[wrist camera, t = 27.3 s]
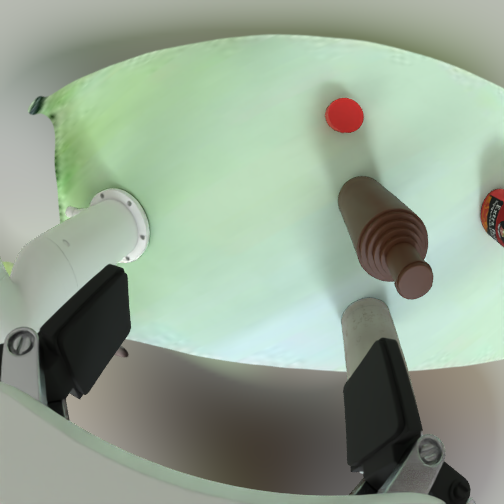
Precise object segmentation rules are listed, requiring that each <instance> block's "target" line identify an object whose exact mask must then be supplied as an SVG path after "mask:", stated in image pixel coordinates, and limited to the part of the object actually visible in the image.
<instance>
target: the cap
mask: <svg viewBox="0 0 504 504" xmlns="http://www.w3.org/2000/svg"><path fill="white" fill-rule="evenodd" d="M325 118H326V121H327V123H328V125H329V126H330V127H331V128H332V129H334V130H335V131H338V132H341V133H344V132H346V133H351V132H354V131H356V130H357V129H359V128H360V126H361V125H362V123H363V118H364V116H363V111H362V109H361V107H360V106H359V104H358V103H357V102H355V101H354V100H352V99H349V98H339V99H337V100H335V101H333V102H332V103H331V104H330V105H329V106H328V107H327V110H326V113H325Z"/></svg>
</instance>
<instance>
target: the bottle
mask: <svg viewBox="0 0 504 504" xmlns="http://www.w3.org/2000/svg"><path fill="white" fill-rule="evenodd" d="M338 206H339V209H340V212H341V214H342V217H343V219H344V222H345V224H346V227H347V229H348V232H349V235H350V237H351V240H352V243H353V245H354V248H355V251H356V254H357V256H358V259H359V262H360V264H361V266H362V267H363V269H364V270H365V271H366V272H367V273H368V274H369V275H371V276H372V277H374V278H376V279H379V280H382V281H387V282H393V281H394V282H395V283H394V284H395V287H396V289H397V291H398V293H399V294H400V295H401V296H402V297H404V298H406V299H417V298H419V297H421V296H423V295H424V294H426V293H427V292H428V291H429V290H430V288H431V287H432V283H433V273H432V269H431V267H430V265H429V264H428V263H427V262H425V261H424V259H425V256H426V253H427V249H428V235H427V230H426V227H425V225H424V223H423V222H422V220H421V219H420V218H419V217H418V216H417V215H416V214H415V213H414V212H413V211H412V210H410V209H409V208H408V207H407V206H406V205H405V204H404V203H402V202H401V201H400V200H399V199H398V198H397V197H395V196H394V195H393V194H392V193H391V192H389V191H388V190H387V189H386V188H385V187H383V186H382V185H381V184H380V183H378V182H377V181H376V180H374V179H372V178H370V177H366V176H358V177H355V178H352V179H350V180H349V181H347V182H346V183H345V184H344V185H343V187H342V188H341V190H340V192H339V196H338Z"/></svg>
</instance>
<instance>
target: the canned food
mask: <svg viewBox="0 0 504 504" xmlns="http://www.w3.org/2000/svg"><path fill="white" fill-rule="evenodd" d="M481 222H482V225H483V227H484V229H485V231H486V232H487V233H488V234H489V235H490V236H491V237H492V238H493V239H495V240H496V241H497V242H498V243H499V244H501V245H502V246H503V247H504V189H495V190H493V191H491V192H490V193H489V194H488V195H487V196H486V198H485V200H484V202H483V204H482V208H481Z"/></svg>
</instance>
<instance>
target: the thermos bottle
mask: <svg viewBox="0 0 504 504" xmlns="http://www.w3.org/2000/svg"><path fill="white" fill-rule="evenodd" d="M341 323H342V332H343V340H344V350H345V361H346V368H347V381H348V379H349V378H350V377H351V375H352V374H353V373H354V371H355V370H356V368H357V367H358V366H359V364H360V363H361V361H362V360H363V358H364V357H365V356H366V354H367V353H368V351H369V350H370V348H371V347H372V345H373V344H374V342H375V341H376V340H379V339H380V338H382V337H384V338H389V339H395V340H396V341H397V343H398V346H399V348H400V351H401V354H402V357H403V361H404V364H405V367H406V370H407V373H408V377H409V380H410V383H411V379H410V376H409V372H408V368H407V365H406V361H405V358H404V355H403V352H402V349H401V346H400V342H399V339H398V335H397V332H396V329H395V326H394V323H393V320H392V317H391V314H390V312H389V309H388V307H387V305H386V304H385V303H384V302H383V301H381V300H379V299H376V298H364V299H360V300H357V301H355V302H353V303H352V304H351V305H349V306H348V307H347V308H346V310H345V311H344V313H343V315H342V319H341ZM411 387H412V384H411ZM412 390H413V387H412ZM413 394H414V392H413ZM414 397H415V395H414ZM415 401H416V400H415ZM416 405H417V404H416ZM421 436H422V431H421ZM360 473H363V472H360Z"/></svg>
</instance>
